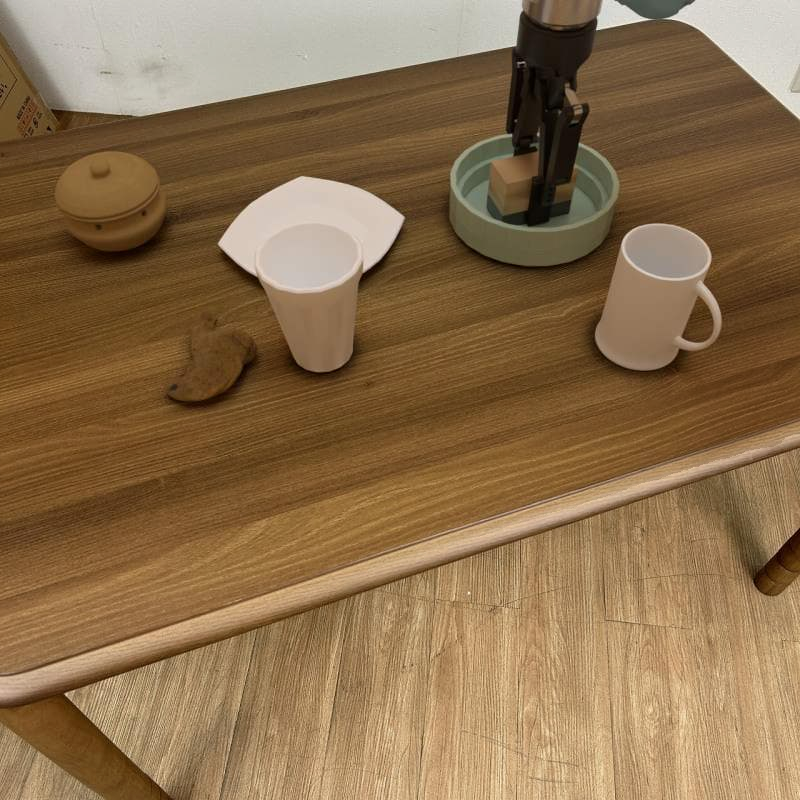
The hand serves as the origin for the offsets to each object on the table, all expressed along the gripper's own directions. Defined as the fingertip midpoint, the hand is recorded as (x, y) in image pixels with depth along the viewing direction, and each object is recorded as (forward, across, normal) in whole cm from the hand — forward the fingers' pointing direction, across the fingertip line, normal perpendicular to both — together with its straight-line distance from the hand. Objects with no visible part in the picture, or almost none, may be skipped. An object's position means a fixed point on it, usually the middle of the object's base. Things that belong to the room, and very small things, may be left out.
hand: (528, 208), depth 90 cm
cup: (+1, +14, -30) cm, 33 cm away
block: (0, 0, 0) cm, 0 cm away
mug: (0, +25, +2) cm, 25 cm away
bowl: (+1, 0, 0) cm, 1 cm away
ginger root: (+1, +12, -42) cm, 43 cm away
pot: (+2, -14, -47) cm, 49 cm away
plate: (+1, -4, -26) cm, 26 cm away
